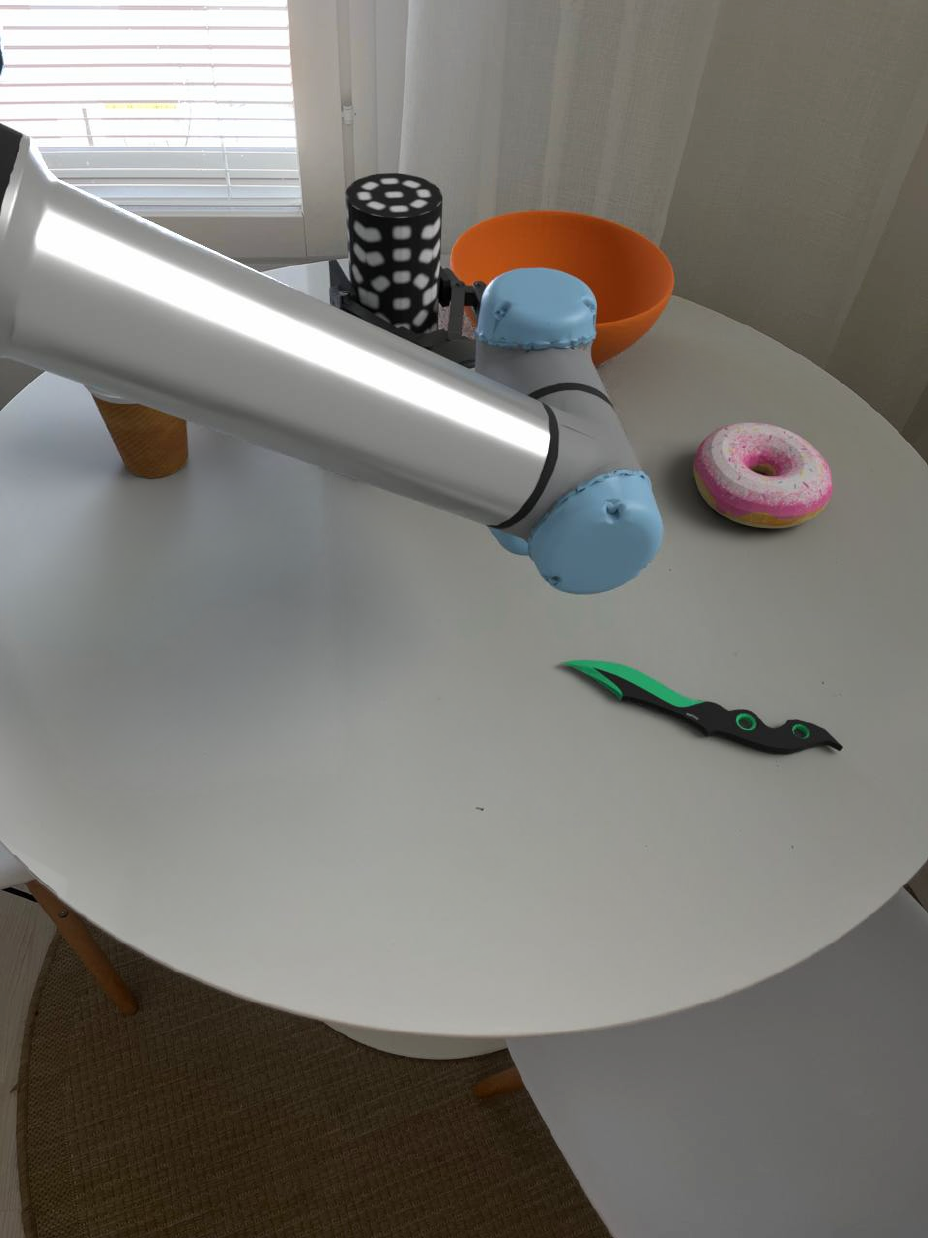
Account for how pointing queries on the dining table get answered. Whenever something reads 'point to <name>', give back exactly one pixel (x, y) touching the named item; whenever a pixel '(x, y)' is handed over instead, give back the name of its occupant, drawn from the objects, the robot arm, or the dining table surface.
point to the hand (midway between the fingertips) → (378, 266)
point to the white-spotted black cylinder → (396, 248)
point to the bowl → (575, 267)
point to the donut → (757, 500)
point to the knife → (704, 711)
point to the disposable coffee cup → (143, 435)
